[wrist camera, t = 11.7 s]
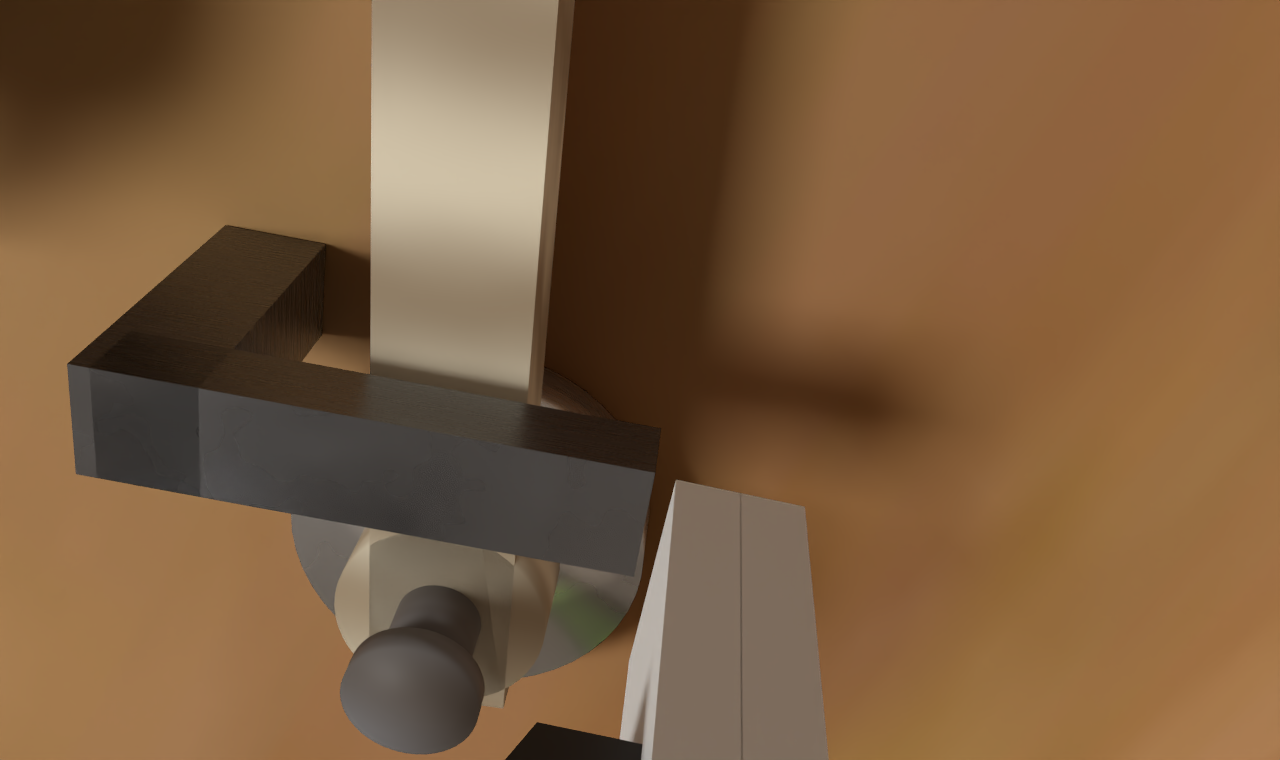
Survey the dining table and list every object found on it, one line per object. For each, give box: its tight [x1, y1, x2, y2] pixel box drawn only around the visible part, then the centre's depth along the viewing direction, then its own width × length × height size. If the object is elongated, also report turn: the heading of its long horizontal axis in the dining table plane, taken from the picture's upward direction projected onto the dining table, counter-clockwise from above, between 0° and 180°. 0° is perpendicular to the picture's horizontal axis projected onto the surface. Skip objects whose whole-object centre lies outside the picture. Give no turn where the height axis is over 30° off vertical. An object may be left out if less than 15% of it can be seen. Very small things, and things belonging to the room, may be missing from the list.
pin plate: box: [291, 367, 649, 677], centre depth 37 cm, size 11×11×2 cm
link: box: [334, 0, 575, 754], centre depth 28 cm, size 25×6×6 cm, turn 173°
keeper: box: [67, 225, 661, 577], centre depth 31 cm, size 14×3×9 cm, turn 81°
